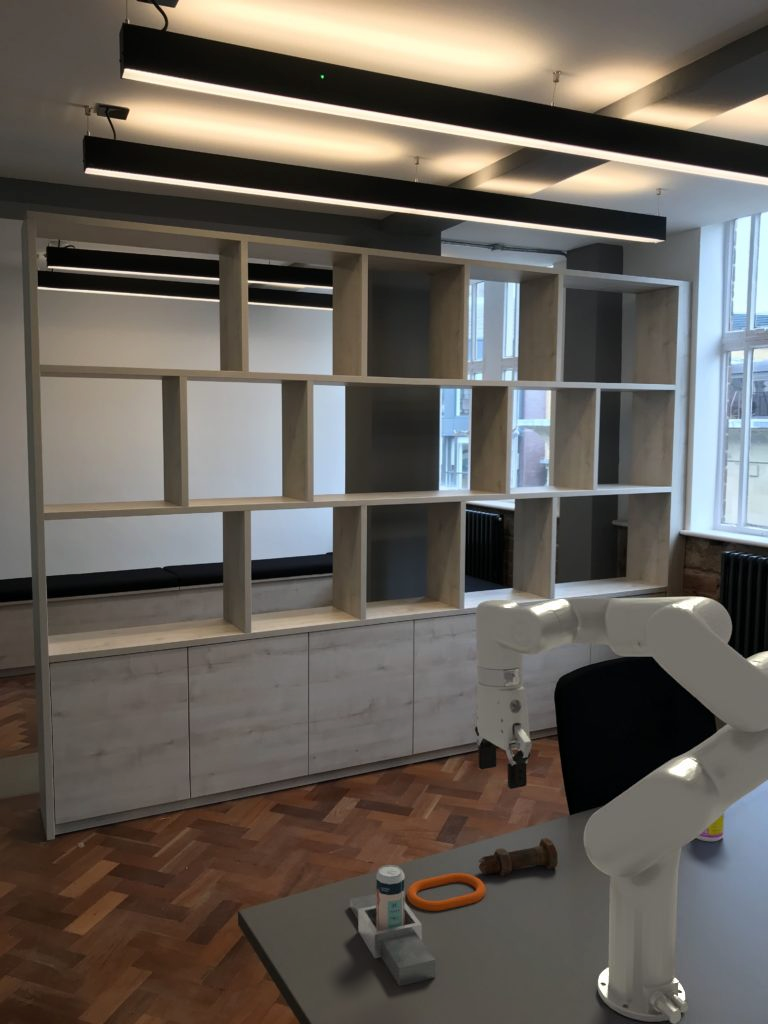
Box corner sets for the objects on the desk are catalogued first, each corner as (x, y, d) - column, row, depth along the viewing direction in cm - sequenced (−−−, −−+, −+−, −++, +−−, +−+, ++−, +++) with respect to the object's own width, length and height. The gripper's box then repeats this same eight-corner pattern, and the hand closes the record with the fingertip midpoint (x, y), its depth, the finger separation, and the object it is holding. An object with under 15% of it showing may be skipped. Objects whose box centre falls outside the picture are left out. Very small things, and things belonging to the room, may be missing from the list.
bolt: (479, 883, 166) (550, 869, 170) (488, 881, 161) (560, 867, 165) (473, 851, 168) (543, 838, 172) (481, 848, 164) (553, 836, 168)
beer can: (388, 928, 147) (388, 860, 146) (410, 938, 144) (410, 869, 143) (370, 941, 143) (369, 871, 142) (392, 951, 140) (392, 880, 139)
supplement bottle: (682, 832, 183) (683, 773, 182) (705, 826, 185) (707, 768, 184) (706, 845, 177) (708, 784, 176) (730, 839, 179) (731, 779, 178)
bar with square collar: (441, 976, 133) (441, 951, 133) (392, 987, 131) (392, 962, 130) (387, 899, 156) (386, 878, 156) (344, 908, 153) (343, 886, 153)
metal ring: (495, 891, 156) (420, 908, 150) (495, 900, 156) (420, 918, 151) (469, 867, 165) (398, 883, 159) (469, 876, 165) (398, 891, 160)
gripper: (548, 684, 135) (550, 791, 136) (493, 662, 151) (495, 757, 152) (506, 690, 133) (508, 799, 134) (455, 667, 149) (458, 764, 150)
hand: (501, 777), depth 143 cm, fingers open, 9 cm apart
